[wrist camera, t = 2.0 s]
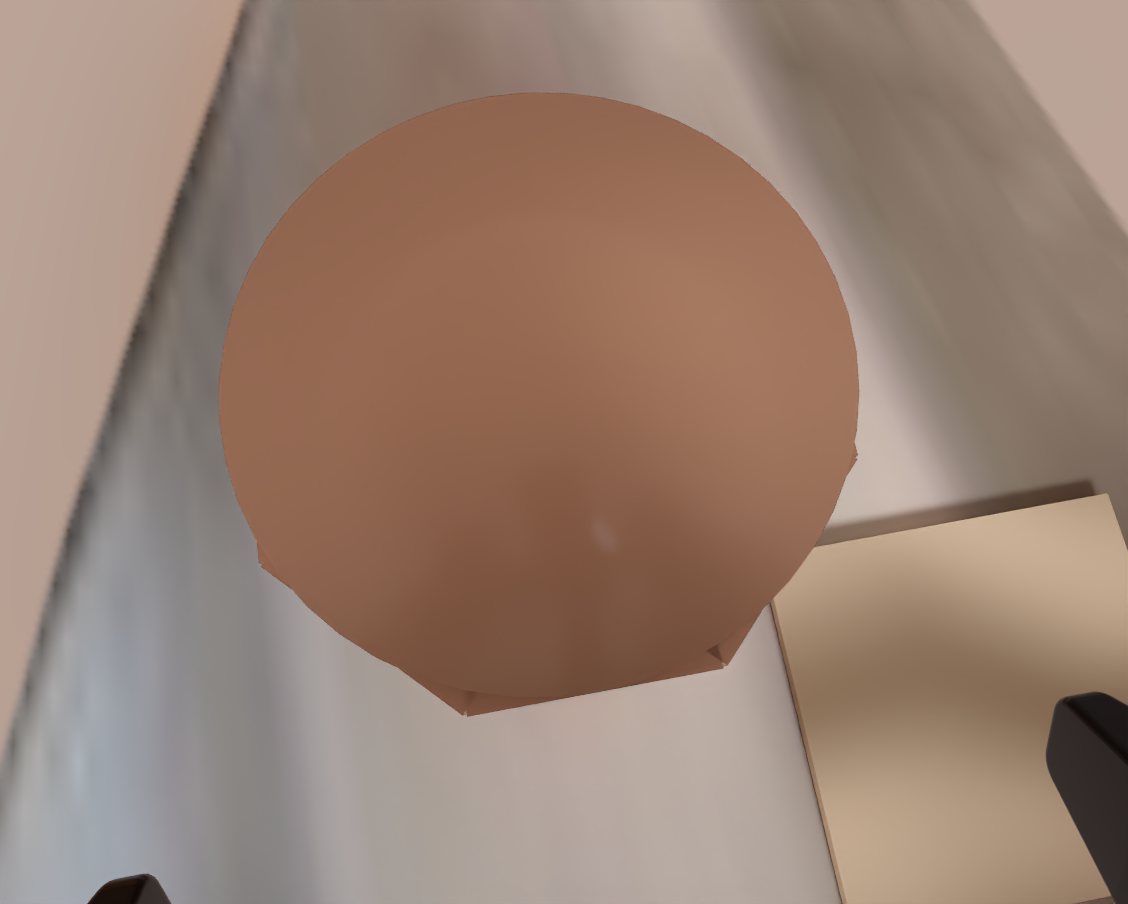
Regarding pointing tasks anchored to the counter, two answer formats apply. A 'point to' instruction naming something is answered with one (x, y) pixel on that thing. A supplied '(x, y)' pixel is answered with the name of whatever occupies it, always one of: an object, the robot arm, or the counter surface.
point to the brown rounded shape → (539, 398)
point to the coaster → (955, 699)
